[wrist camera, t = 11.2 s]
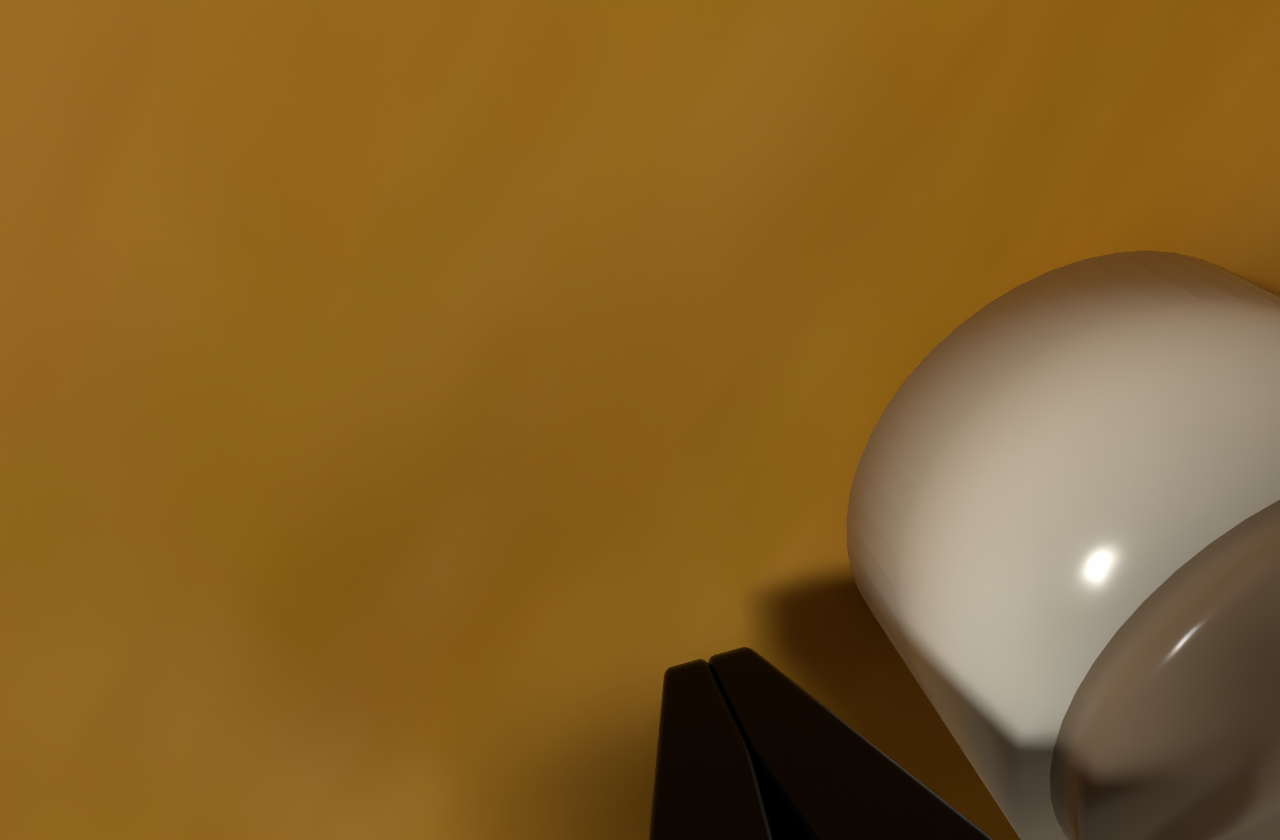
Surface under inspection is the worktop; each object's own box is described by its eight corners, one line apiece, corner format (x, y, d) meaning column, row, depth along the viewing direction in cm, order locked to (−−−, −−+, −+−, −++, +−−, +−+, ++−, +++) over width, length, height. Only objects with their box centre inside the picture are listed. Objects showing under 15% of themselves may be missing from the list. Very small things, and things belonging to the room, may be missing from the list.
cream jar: (1243, 585, 13) (1539, 835, 10) (858, 706, 13) (1033, 1017, 9) (1321, 193, 10) (1772, 357, 7) (826, 325, 10) (1062, 576, 7)
